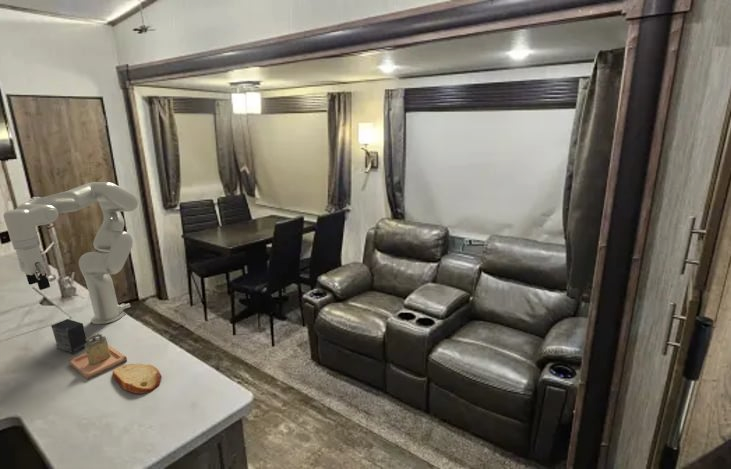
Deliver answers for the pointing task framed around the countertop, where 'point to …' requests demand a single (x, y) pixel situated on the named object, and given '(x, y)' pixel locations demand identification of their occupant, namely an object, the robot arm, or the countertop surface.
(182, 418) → the countertop surface
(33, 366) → the countertop surface
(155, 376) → the slice of bread
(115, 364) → the rest tray
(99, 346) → the lighter
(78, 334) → the small box
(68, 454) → the countertop surface
